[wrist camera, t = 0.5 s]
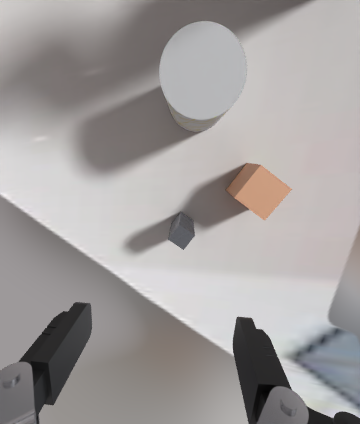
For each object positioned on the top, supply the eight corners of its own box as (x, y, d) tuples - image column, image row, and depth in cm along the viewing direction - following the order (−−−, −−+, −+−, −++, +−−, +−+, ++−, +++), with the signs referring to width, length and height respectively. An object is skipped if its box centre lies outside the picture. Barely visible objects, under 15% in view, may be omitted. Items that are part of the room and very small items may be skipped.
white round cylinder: (161, 118, 33) (146, 99, 21) (181, 60, 31) (178, 4, 19) (211, 140, 34) (224, 132, 22) (234, 84, 32) (262, 43, 20)
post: (180, 211, 36) (179, 224, 30) (193, 220, 37) (194, 235, 30) (171, 223, 37) (168, 239, 30) (184, 232, 37) (183, 249, 31)
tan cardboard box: (247, 162, 34) (260, 164, 28) (272, 182, 35) (291, 189, 28) (225, 189, 35) (234, 197, 29) (250, 208, 36) (264, 220, 30)
